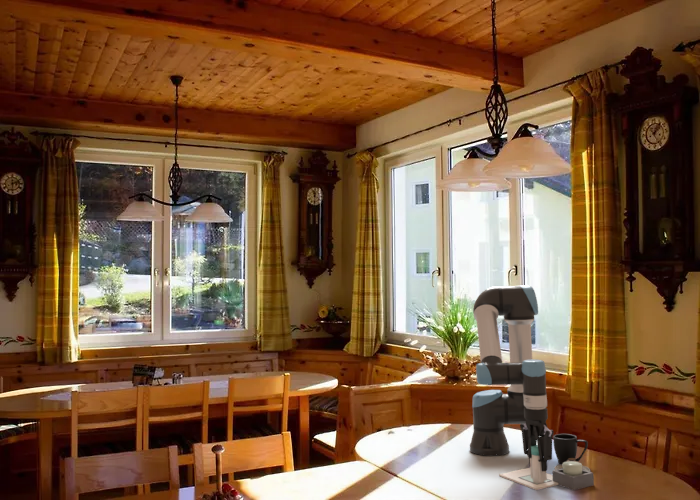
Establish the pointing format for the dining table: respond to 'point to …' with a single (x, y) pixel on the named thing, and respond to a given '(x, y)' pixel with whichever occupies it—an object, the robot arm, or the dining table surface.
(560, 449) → the mug
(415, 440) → the dining table surface
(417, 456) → the dining table surface
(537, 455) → the marker
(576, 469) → the button
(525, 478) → the sheet
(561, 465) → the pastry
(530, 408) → the robot arm
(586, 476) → the button housing
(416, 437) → the dining table surface
